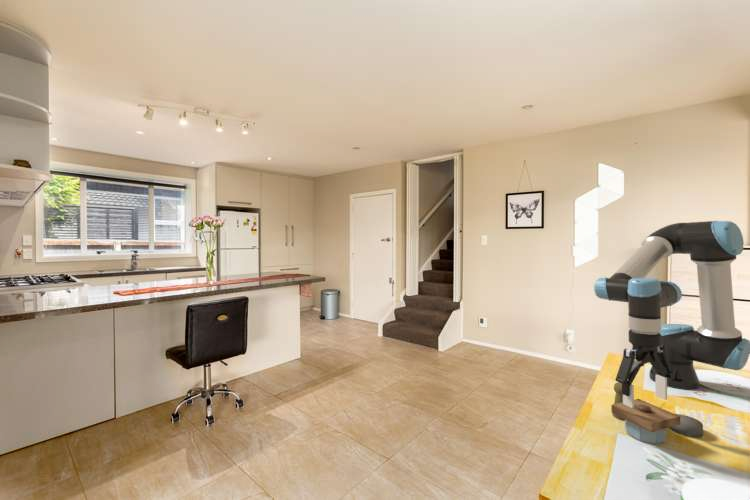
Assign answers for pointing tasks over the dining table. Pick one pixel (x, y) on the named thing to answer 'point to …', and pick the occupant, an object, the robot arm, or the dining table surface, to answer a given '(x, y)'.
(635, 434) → the bowl
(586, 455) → the dining table surface
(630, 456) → the dining table surface
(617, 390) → the pepper shaker
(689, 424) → the grey flattened dome
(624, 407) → the lid
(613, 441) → the dining table surface
